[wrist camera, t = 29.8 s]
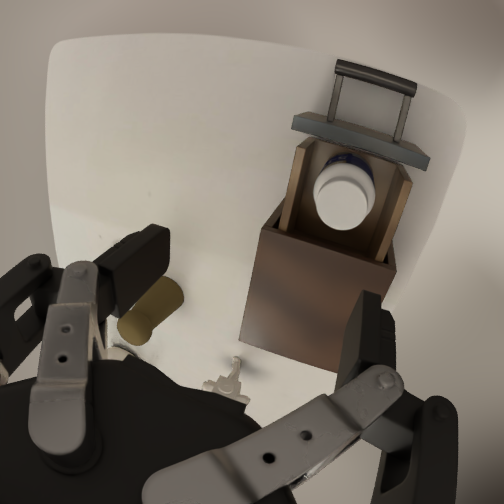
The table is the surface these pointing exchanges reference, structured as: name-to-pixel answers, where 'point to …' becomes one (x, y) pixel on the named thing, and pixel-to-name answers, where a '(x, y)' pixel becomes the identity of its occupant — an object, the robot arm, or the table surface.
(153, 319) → the olive brown pawn
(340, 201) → the pill bottle
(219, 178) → the table surface
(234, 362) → the toy robot
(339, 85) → the drawer
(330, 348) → the cabinet
